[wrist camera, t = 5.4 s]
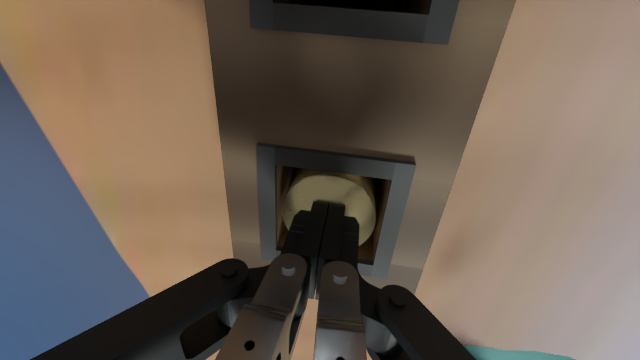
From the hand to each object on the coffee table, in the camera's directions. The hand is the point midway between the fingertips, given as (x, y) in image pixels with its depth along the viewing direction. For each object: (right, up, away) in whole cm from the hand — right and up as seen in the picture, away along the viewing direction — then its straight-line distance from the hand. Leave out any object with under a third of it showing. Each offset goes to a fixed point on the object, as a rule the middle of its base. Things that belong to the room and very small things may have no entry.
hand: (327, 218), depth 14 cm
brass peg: (+1, +3, +5) cm, 6 cm away
